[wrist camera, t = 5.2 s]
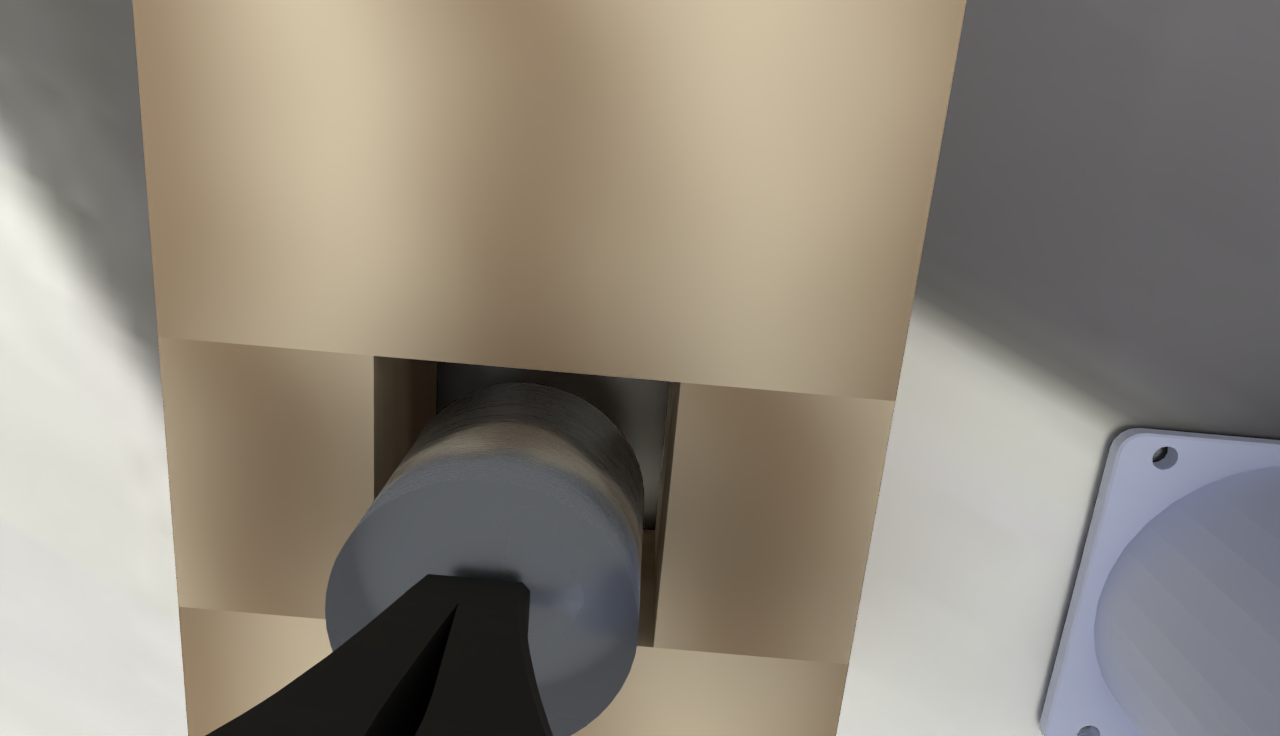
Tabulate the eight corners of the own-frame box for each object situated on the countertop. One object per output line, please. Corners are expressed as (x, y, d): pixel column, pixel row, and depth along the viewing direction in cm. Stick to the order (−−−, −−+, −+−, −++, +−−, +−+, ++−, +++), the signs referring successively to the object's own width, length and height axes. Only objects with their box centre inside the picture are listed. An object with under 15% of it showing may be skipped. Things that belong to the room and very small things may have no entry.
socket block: (988, -609, 14) (1126, -902, 10) (789, 675, 22) (820, 822, 17) (236, -677, 14) (56, -1001, 10) (284, 632, 22) (191, 768, 17)
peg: (654, 394, 15) (652, 495, 12) (633, 610, 17) (625, 767, 13) (406, 372, 15) (322, 466, 12) (404, 590, 17) (327, 741, 13)
